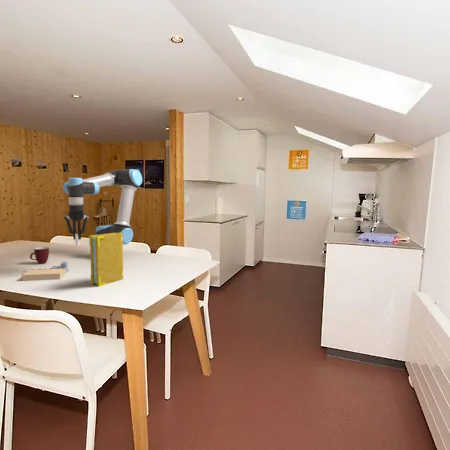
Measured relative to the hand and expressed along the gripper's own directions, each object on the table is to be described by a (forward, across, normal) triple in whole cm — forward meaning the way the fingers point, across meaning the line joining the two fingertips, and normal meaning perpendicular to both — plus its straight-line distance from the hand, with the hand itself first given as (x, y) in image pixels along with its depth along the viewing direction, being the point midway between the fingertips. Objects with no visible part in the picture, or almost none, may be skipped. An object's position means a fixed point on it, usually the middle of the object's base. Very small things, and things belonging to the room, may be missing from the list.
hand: (77, 245), depth 179 cm
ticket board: (+16, +15, +9) cm, 24 cm away
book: (+16, -20, +24) cm, 35 cm away
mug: (+16, +28, -25) cm, 41 cm away
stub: (+16, +10, 0) cm, 19 cm away
